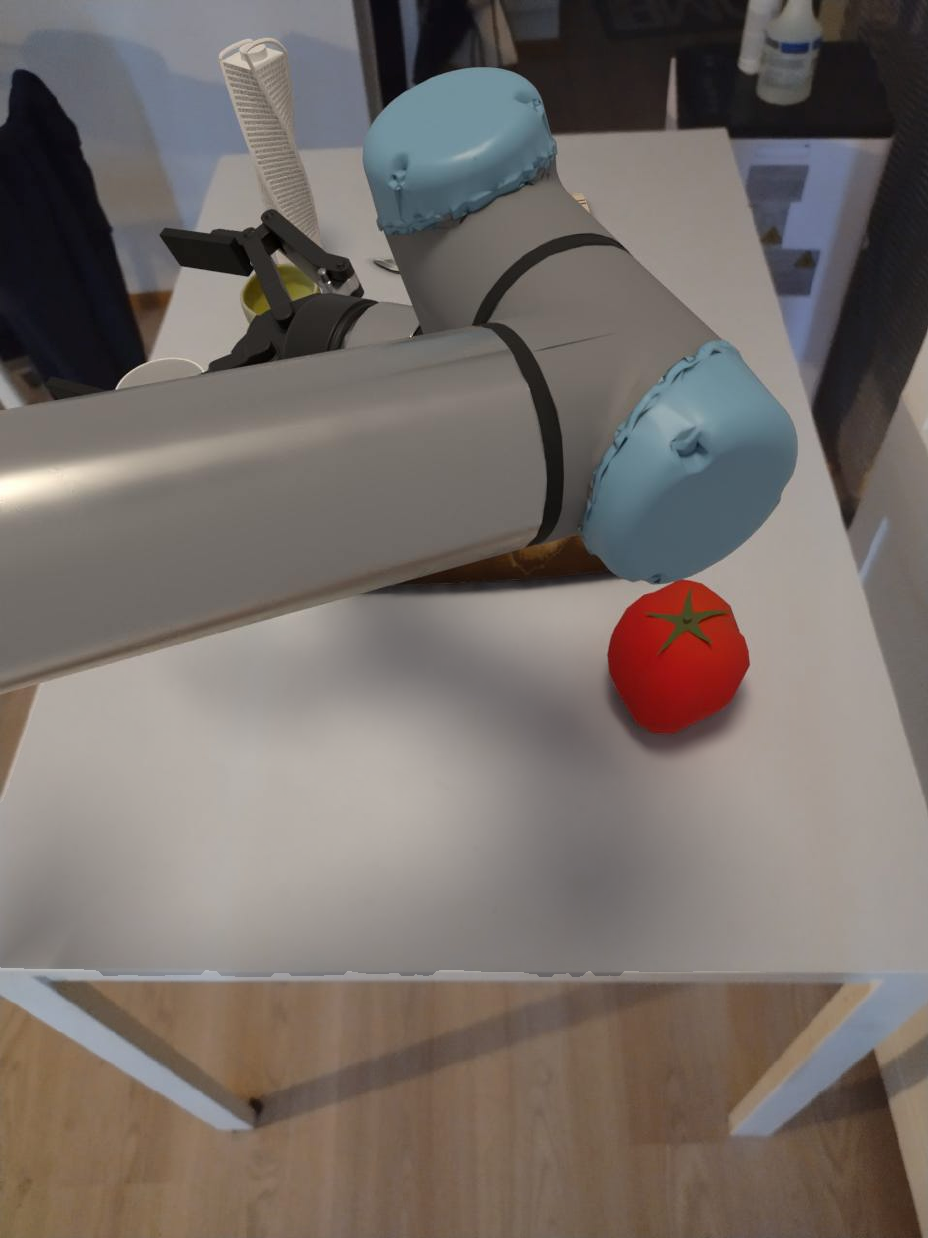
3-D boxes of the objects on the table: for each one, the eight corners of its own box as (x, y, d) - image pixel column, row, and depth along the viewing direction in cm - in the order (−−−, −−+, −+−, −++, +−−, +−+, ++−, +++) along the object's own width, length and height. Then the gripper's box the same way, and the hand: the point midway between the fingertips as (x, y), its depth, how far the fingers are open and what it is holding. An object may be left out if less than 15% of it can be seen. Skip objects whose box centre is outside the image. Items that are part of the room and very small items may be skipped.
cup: (262, 483, 90) (217, 357, 77) (243, 542, 86) (192, 419, 73) (187, 481, 91) (130, 356, 78) (164, 540, 86) (100, 417, 73)
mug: (280, 291, 108) (271, 236, 98) (347, 334, 107) (344, 282, 98) (219, 360, 104) (203, 309, 95) (288, 405, 104) (279, 358, 94)
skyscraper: (333, 285, 111) (282, 42, 89) (276, 292, 111) (210, 51, 88) (331, 251, 116) (282, 12, 93) (276, 258, 116) (213, 20, 93)
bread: (686, 539, 83) (694, 503, 79) (695, 579, 80) (704, 544, 76) (296, 563, 84) (285, 529, 80) (292, 604, 81) (279, 571, 77)
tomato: (585, 732, 72) (592, 667, 63) (623, 615, 78) (634, 542, 70) (720, 771, 69) (746, 709, 61) (747, 646, 76) (774, 574, 67)
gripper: (294, 580, 49) (50, 496, 58) (481, 265, 57) (240, 234, 66) (228, 506, 43) (-35, 424, 52) (448, 163, 50) (186, 143, 59)
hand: (118, 317), depth 59 cm, fingers open, 13 cm apart
